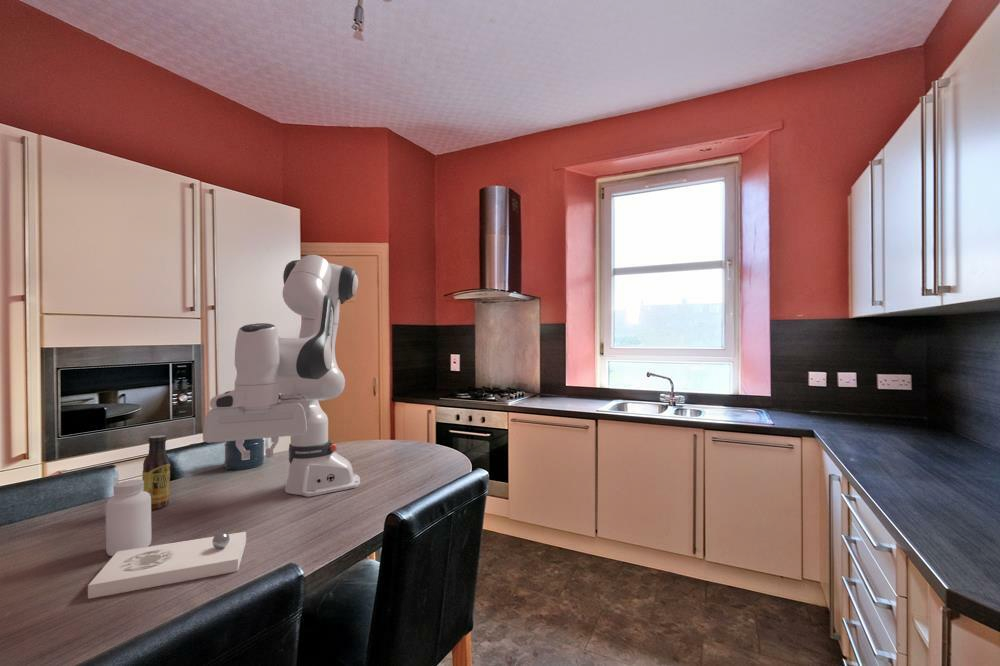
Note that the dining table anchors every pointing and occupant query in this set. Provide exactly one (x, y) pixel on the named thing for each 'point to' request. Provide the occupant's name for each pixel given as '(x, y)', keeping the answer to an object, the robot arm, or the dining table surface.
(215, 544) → the ball
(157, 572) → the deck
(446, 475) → the dining table surface
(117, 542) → the pill bottle
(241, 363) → the robot arm
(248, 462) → the canister
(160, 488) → the sauce bottle
